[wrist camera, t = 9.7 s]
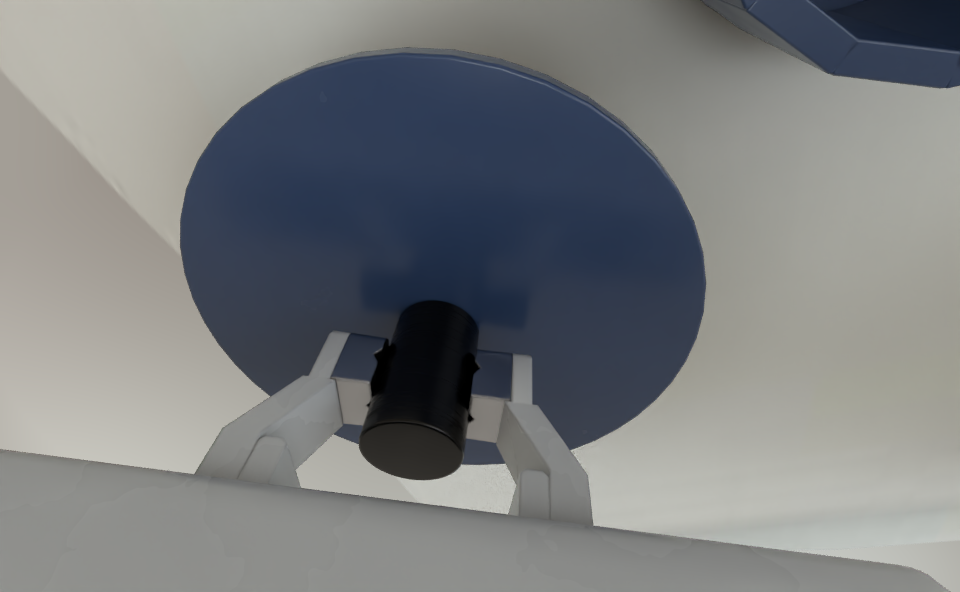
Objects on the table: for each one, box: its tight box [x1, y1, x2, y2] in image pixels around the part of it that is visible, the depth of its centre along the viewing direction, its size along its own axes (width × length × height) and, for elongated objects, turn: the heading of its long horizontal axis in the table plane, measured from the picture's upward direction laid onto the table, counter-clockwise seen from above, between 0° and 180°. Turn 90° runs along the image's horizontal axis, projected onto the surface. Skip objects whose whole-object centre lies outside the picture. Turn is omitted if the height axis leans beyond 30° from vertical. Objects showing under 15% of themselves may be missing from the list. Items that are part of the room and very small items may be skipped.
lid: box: [180, 47, 706, 480], centre depth 12 cm, size 15×15×5 cm
